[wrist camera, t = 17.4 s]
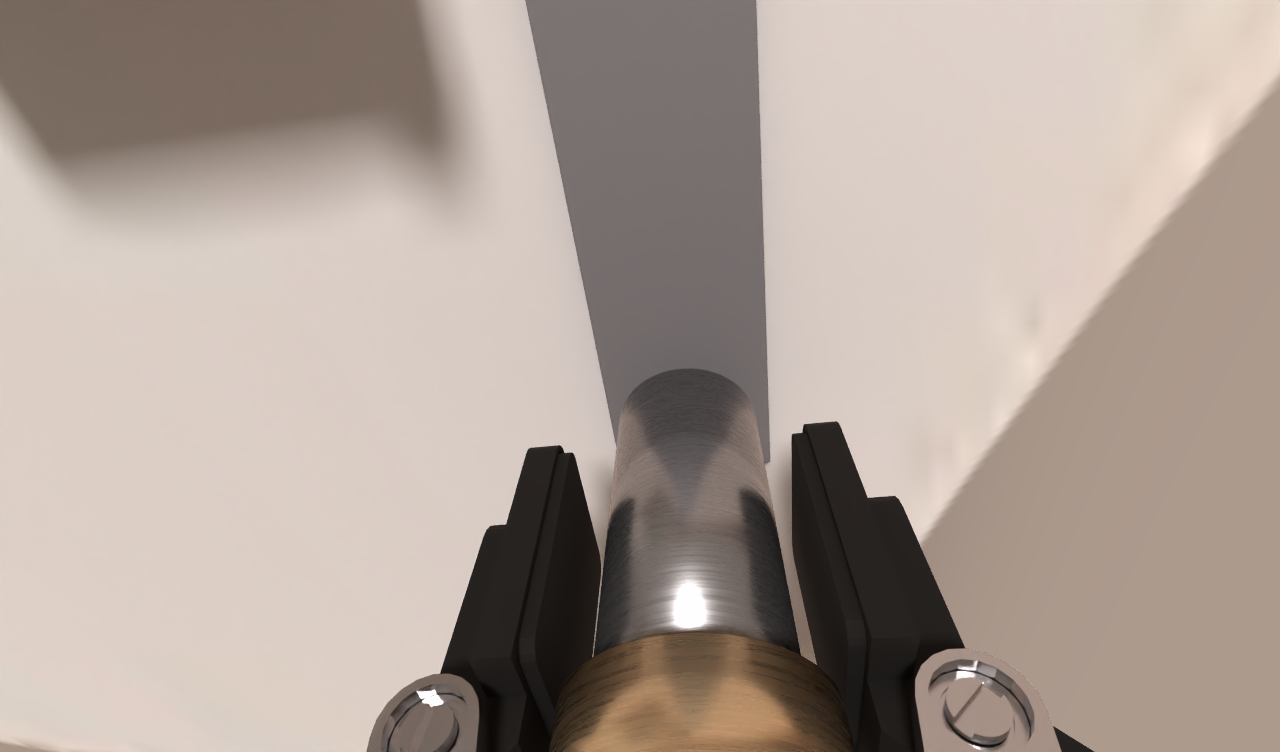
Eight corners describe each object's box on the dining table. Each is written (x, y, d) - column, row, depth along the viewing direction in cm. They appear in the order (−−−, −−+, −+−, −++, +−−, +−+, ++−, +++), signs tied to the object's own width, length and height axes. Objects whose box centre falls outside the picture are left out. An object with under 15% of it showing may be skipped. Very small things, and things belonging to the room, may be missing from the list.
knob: (615, 494, 14) (565, 976, 7) (585, 360, 12) (482, 849, 5) (777, 482, 14) (880, 979, 7) (773, 341, 12) (911, 843, 5)
